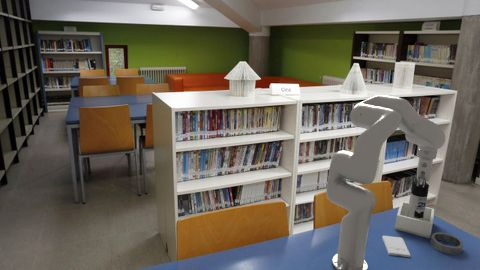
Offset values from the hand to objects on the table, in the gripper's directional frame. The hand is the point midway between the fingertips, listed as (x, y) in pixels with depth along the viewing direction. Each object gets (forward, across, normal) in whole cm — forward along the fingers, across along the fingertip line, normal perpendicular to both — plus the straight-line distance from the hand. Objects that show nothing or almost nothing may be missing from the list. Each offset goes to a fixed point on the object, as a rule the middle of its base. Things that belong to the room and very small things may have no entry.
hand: (419, 190), depth 156 cm
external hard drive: (+18, -22, +5) cm, 29 cm away
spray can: (+17, 0, 0) cm, 17 cm away
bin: (+17, 0, 0) cm, 17 cm away
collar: (+17, -11, -13) cm, 24 cm away
